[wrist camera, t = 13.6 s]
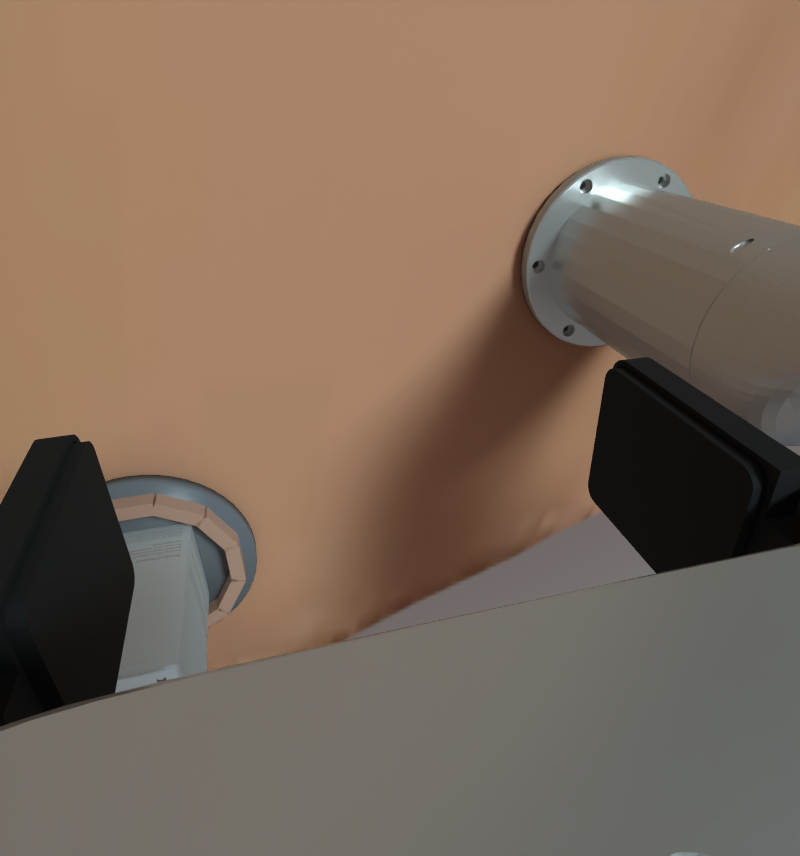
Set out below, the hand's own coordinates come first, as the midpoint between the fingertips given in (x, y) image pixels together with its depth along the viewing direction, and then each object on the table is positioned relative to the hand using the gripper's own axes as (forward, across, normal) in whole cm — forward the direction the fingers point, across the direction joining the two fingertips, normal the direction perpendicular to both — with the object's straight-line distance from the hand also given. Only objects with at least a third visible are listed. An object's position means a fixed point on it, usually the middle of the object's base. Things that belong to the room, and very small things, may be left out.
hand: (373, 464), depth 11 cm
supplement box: (+28, +12, +24) cm, 39 cm away
